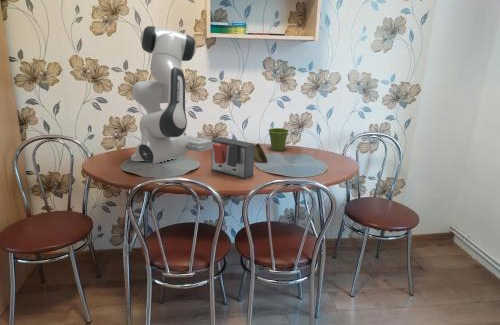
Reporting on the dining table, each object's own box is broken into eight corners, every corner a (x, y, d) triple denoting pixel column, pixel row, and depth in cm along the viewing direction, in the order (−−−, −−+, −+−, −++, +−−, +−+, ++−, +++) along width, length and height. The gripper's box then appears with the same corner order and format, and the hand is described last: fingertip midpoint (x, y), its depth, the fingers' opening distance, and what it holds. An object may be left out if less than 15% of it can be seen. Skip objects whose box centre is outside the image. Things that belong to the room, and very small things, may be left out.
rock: (246, 152, 188) (246, 155, 179) (256, 140, 187) (257, 142, 178) (262, 165, 190) (263, 168, 180) (272, 152, 189) (274, 155, 179)
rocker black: (229, 164, 157) (232, 144, 156) (237, 166, 155) (239, 146, 154) (227, 165, 156) (229, 144, 154) (234, 167, 154) (236, 146, 152)
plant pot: (267, 146, 211) (268, 127, 208) (287, 147, 210) (289, 128, 207) (266, 151, 200) (267, 132, 196) (287, 152, 199) (289, 133, 195)
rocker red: (217, 160, 163) (215, 142, 159) (224, 162, 161) (222, 144, 157) (215, 162, 161) (212, 144, 157) (222, 164, 159) (219, 145, 155)
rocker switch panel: (220, 167, 171) (220, 136, 167) (253, 175, 161) (254, 143, 157) (210, 171, 166) (210, 139, 161) (244, 179, 156) (245, 147, 151)
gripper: (198, 141, 129) (221, 134, 140) (158, 133, 140) (183, 128, 151) (198, 157, 131) (221, 150, 142) (159, 148, 142) (183, 142, 153)
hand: (201, 138), depth 147 cm, fingers closed
